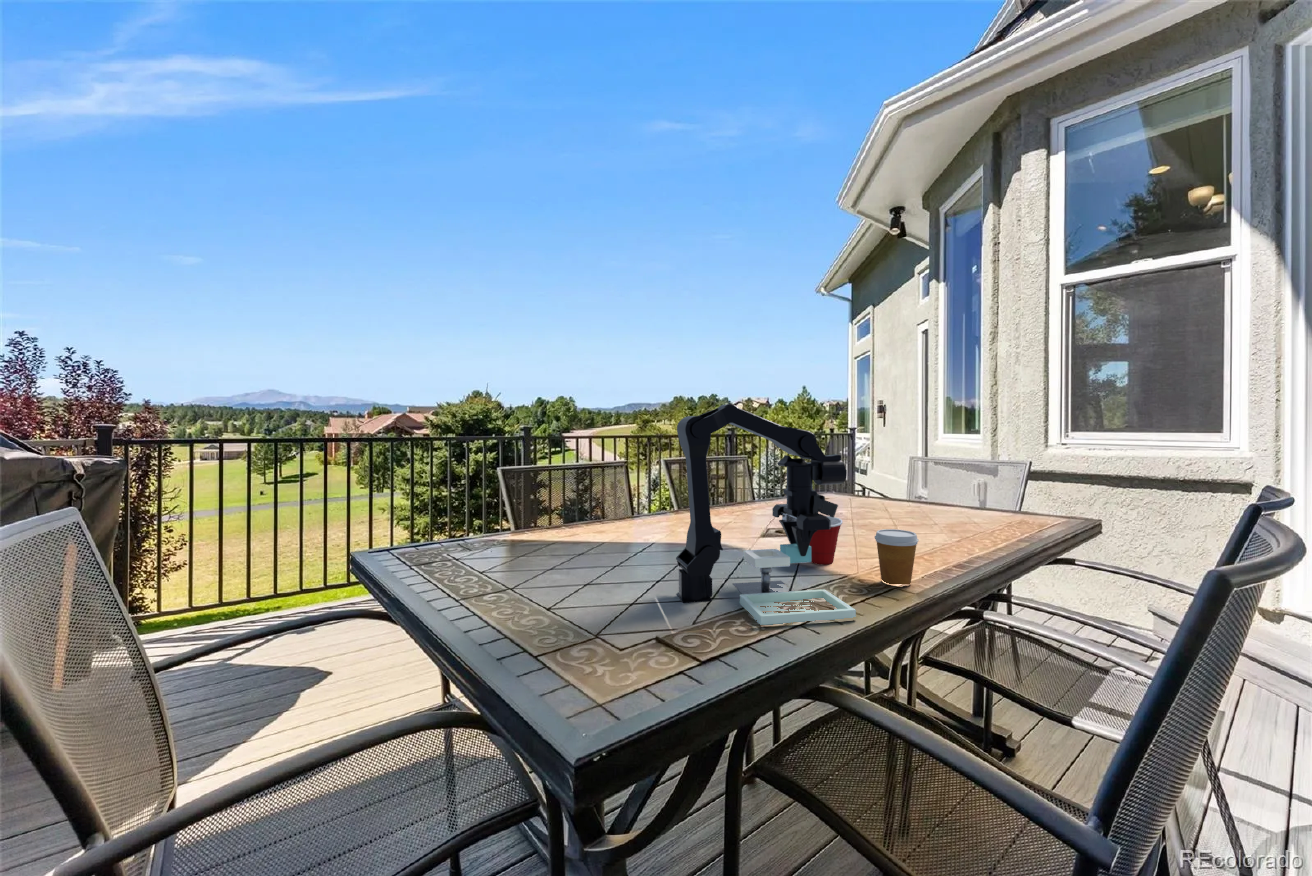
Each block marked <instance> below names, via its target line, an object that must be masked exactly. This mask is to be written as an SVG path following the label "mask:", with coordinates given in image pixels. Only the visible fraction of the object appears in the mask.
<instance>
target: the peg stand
mask: <svg viewBox="0 0 1312 876" xmlns="http://www.w3.org/2000/svg"><path fill="white" fill-rule="evenodd" d="M772 570H773V569H772V567H767V568H759V572H760V575H761V576H760V581H752V582H751V581H750V582H737V583H736V582H735V583H734V582H733V583H732V585H733V586H734V587H735V588H736V589H737V590H738V591H739V593H741V594H757V593H773V592H775V591H773V590H772V589H770V588H783V587H781V586H779V585H777V584H786V583H785V582H784V581H782V580H771V573H772ZM776 592H778V591H776Z"/></svg>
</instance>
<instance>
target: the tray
mask: <svg viewBox="0 0 1312 876" xmlns="http://www.w3.org/2000/svg"><path fill="white" fill-rule="evenodd" d="M812 598H824V599H825V600H826V601H827V602H829V603H830V604H832V605H833V606H835V607H836V608H837V609H834V610H819V611H818V610H817V611H814V610H811V609H810V610H806V609H805V608H804V609H800V610H799V609H798V610H797V609H795V610H794V609H793V610H790V609H789V611H805V612H790V613H778V612H777V613H774V612H773V611H788V610H784V609H780V608H778V609H777V607H773V606H784V605H785V604H783V605H782V604H780V603H779V604H778V603H774V602H787V601H788V602H801V601H790V600H802V602H803V599H812ZM804 602H809V601H804ZM811 602H812V601H811ZM813 602H814V601H813ZM739 605H740V606H742V608H743V609H746V610H747V611H748V612H749V613H750V614H751V615H752V616H753V617H754V618H753V617H752V616H751V615H750V614H749V613H748V612H747V611H746V610H745V611H746V612H747V613H748V614H749V615H750V616H751V617H752V618H753V619H754V621H756V620H757V621H756V622H757V624H758V625H759V624H760V625H773V624H783V623H791V622H792V623H793V622H805V621H815V620H835V619H844V618H853V617H856V616H857V610H856V609H855V608H854V607H852V606H850V605H849V604H848V603H846V602H845V601H843V600H841V598H839V597H837V595H834V594H833V593H831V592H830V591H828V590H826V589H824V588H823V589H809V590H808V589H807V590H794V591H789V592H773V593H757V594H742V593H741V594H739ZM757 606H758V607H757ZM760 606H766V608H765V607H760ZM767 606H769V607H767ZM770 606H771V607H770ZM785 606H791V605H785ZM793 606H794V605H793ZM796 606H797V605H796ZM798 606H799V605H798ZM800 606H801V605H800ZM802 606H810V605H802ZM811 606H812V605H811ZM762 611H772V612H766V613H765V612H764V613H763V612H762ZM856 618H857V617H856Z"/></svg>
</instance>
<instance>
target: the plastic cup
mask: <svg viewBox="0 0 1312 876" xmlns="http://www.w3.org/2000/svg"><path fill="white" fill-rule="evenodd" d="M826 516H827V515H826ZM827 517H828V518H829V519H830V520H831V529H829V530H818V531H816V532H815V533H814V534H813V536H812V538H811V541H810V544H809V546H811V562H810V564H811V563H812V564H815V565H821V566H825V565H827V566H828V565H833V564H834V562H835V561H834V559H835V554H836V550H837V546H838V545H837V544H838V539H839V533H840V529H841V526H842V524H843V519H841V518H840V517H837V516H834V518H833V517H830V516H827ZM832 563H833V564H832Z"/></svg>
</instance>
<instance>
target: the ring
mask: <svg viewBox="0 0 1312 876" xmlns="http://www.w3.org/2000/svg"><path fill="white" fill-rule="evenodd" d="M743 560H745V562H746V563H748V564H749V565H751V567H753V568H754V569H760V568H767V567H771V568H781V567H783V568H784V567H791V564H802V563H811V546H809V547H808V550H807V554H806V556H801V555H800V552H799V550H798V546H797V544H790V543H783V544H781V543H780V544H779V549H777V548H764V549H745V550H744V549H743Z"/></svg>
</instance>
